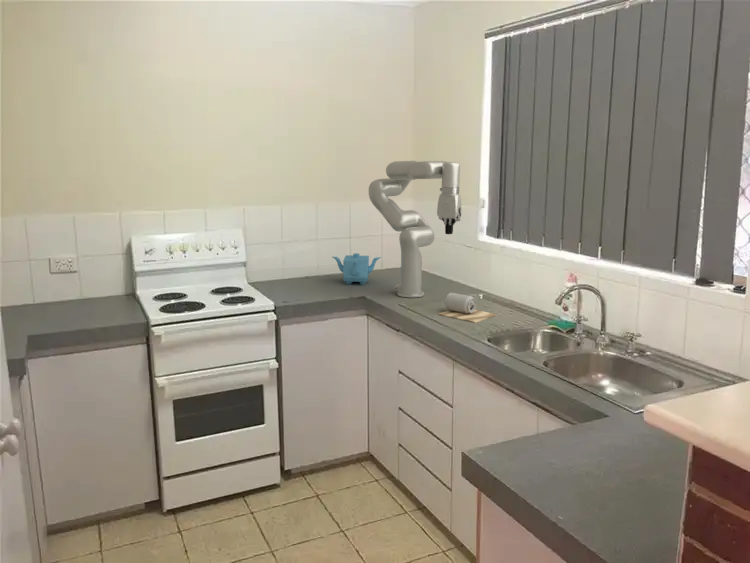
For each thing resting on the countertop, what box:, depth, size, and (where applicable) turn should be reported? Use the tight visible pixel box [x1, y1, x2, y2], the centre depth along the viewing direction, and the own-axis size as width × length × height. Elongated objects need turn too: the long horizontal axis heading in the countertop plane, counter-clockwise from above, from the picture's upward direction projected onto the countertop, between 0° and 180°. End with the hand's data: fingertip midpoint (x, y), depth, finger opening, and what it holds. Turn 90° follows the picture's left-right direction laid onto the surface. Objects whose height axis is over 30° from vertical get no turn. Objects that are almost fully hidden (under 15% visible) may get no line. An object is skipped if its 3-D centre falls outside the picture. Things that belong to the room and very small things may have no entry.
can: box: [444, 292, 477, 314], centre depth 280 cm, size 8×8×12 cm
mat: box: [438, 309, 498, 324], centre depth 278 cm, size 18×16×1 cm
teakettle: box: [332, 252, 382, 286], centre depth 338 cm, size 19×19×15 cm
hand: (448, 233), depth 291 cm, fingers closed
